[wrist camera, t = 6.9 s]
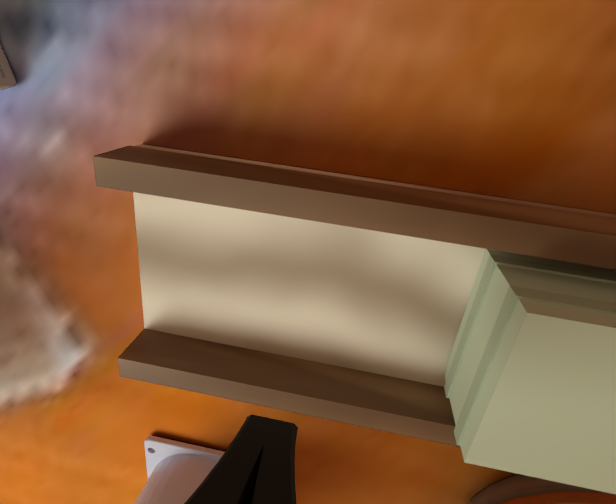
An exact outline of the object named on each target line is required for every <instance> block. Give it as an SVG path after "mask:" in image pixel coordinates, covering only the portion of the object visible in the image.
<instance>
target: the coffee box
mask: <svg viewBox="0 0 616 504" xmlns="http://www.w3.org/2000/svg"><path fill="white" fill-rule="evenodd" d="M15 85H16V80H15V77H14V75H13V73H12V70H11V68H10V66H9V63H8V61H7V58H6V56H5V54H4V51H3V49H2V47H1V44H0V90H2V89H6V88H11V87H14V86H15Z"/></svg>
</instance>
